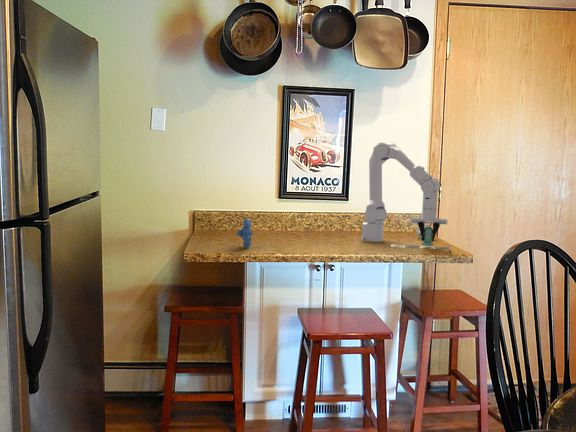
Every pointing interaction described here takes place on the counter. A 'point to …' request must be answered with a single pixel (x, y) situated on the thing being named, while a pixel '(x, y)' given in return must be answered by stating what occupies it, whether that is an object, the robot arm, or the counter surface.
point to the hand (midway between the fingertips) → (427, 240)
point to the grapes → (245, 233)
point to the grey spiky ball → (420, 232)
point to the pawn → (428, 236)
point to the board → (422, 247)
